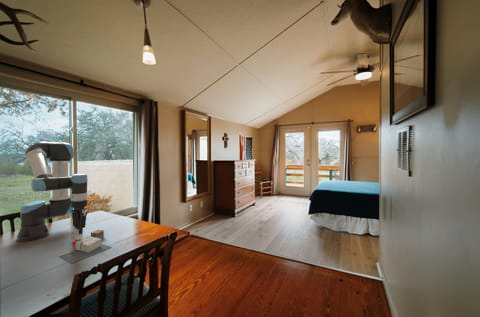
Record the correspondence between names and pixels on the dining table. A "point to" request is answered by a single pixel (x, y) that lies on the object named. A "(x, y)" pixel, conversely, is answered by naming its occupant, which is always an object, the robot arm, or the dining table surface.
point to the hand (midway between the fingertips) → (78, 238)
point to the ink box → (86, 244)
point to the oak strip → (68, 252)
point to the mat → (83, 254)
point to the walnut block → (98, 234)
